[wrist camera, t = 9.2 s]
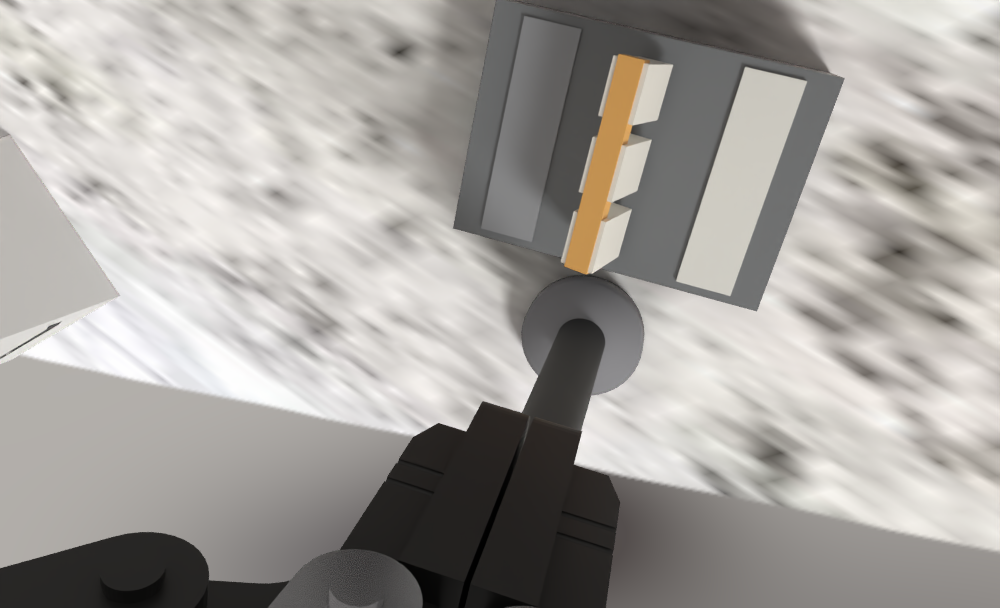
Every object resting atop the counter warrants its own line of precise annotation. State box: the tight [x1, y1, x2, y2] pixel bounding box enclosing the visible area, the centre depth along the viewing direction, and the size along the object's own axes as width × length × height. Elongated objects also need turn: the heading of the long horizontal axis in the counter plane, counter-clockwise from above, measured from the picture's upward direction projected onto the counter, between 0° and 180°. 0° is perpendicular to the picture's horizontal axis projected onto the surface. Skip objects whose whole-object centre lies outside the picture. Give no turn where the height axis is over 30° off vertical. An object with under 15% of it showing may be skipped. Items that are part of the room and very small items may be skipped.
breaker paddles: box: [561, 54, 673, 275], centre depth 30 cm, size 1×8×3 cm, turn 169°
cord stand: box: [522, 276, 644, 439], centre depth 28 cm, size 6×6×21 cm
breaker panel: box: [453, 0, 845, 311], centre depth 33 cm, size 14×10×3 cm
